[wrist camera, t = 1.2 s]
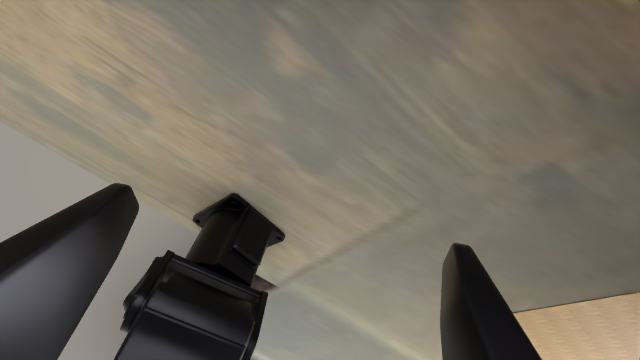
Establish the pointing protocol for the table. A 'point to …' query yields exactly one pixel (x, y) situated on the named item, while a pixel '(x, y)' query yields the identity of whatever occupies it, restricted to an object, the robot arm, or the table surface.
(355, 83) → the table surface
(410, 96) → the table surface
